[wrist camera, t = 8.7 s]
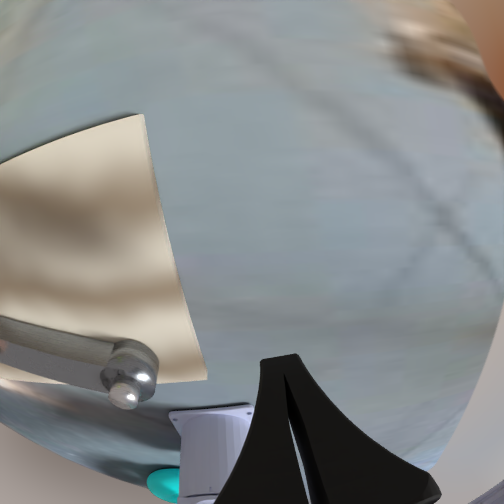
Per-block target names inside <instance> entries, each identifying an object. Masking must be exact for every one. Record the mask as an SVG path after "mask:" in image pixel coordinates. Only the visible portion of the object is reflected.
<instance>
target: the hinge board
mask: <svg viewBox="0 0 504 504" xmlns="http://www.w3.org/2000/svg"><path fill="white" fill-rule="evenodd" d="M0 316H1V317H4V318H8V319H11V320H15V321H18V322H22V323H26V324H29V325H33V326H37V327H41V328H45V329H49V330H54V331H58V332H62V333H67V334H71V335H76V336H81V337H86V338H91V339H96V340H101V341H107V342H113V343H116V342H118V341H122V340H131V341H136V342H139V343H141V344H144V345H145V346H147V347H149V348H150V349H151V350H152V351H153V352H154V353H155V354H156V355H157V357H158V359H159V364H160V365H159V371H158V376H157V382H156V384H158V383H174V382H187V381H198V380H207V368H206V365H205V362H204V359H203V356H202V353H201V350H200V347H199V344H198V340H197V337H196V334H195V331H194V328H193V324H192V321H191V318H190V314H189V311H188V307H187V304H186V300H185V297H184V293H183V290H182V286H181V283H180V279H179V275H178V272H177V268H176V264H175V260H174V256H173V252H172V249H171V245H170V240H169V236H168V232H167V228H166V224H165V220H164V215H163V211H162V207H161V202H160V197H159V193H158V188H157V183H156V179H155V174H154V169H153V164H152V158H151V153H150V148H149V142H148V137H147V131H146V125H145V119H144V114H138V115H134V116H130V117H126V118H123V119H119V120H116V121H112V122H109V123H106V124H102V125H99V126H96V127H93V128H90V129H87V130H84V131H81V132H78V133H75V134H72V135H69V136H66V137H64V138H61V139H58V140H56V141H53V142H51V143H48V144H45V145H43V146H41V147H38V148H36V149H33V150H31V151H29V152H26V153H24V154H22V155H19V156H17V157H15V158H13V159H11V160H9V161H6V162H4V163H2V164H0ZM0 379H8V380H17V381H27V382H39V383H54V384H66V383H62V382H58V381H55V380H51V379H48V378H45V377H41V376H38V375H35V374H32V373H29V372H25V371H22V370H20V369H17V368H14V367H11V366H8V365H5V364H3V363H0Z"/></svg>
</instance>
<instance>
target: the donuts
mask: <svg viewBox="0 0 504 504" xmlns="http://www.w3.org/2000/svg"><path fill="white" fill-rule="evenodd" d="M179 474H180V469H178V468H169V469H161V470H157V471H155V472H153V473H151V474H150V475H149V476H148V478H147V486H148V488H149V490H150V491H151V492H152V493H153V494H154V495H155V496H157V497H158V498H160V499H162V500H165V501H168V502H171V503H176V504H177V497H179Z"/></svg>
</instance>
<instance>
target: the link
mask: <svg viewBox="0 0 504 504" xmlns="http://www.w3.org/2000/svg"><path fill="white" fill-rule="evenodd" d="M0 363H3V364H5V365H8V366H11V367H14V368H17V369H20V370H22V371H25V372H29V373H32V374H35V375H38V376H41V377H45V378H48V379H51V380H55V381H58V382H62V383H66V384H70V385H74V386H78V387H82V388H86V389H90V390H95V391H99V392H104V393H109V396H108V398H109V400H110V402H111V403H112V404H114V405H115V406H117V407H119V408H122V409H127V410H130V409H134V408H136V407H137V403H138V402H142V401H146V400H148V399H150V398H151V397H152V396H153V395H154V393H155V387H156V382H157V376H158V371H159V365H160V364H159V359H158V357H157V355H156V354H155V353H154V352H153V351H152V350H151V349H150V348H149V347H147V346H145V345H144V344H141V343H139V342H136V341H131V340H122V341H118V342H116V343H113V342H107V341H101V340H96V339H91V338H86V337H81V336H76V335H71V334H67V333H62V332H58V331H54V330H49V329H45V328H41V327H37V326H33V325H29V324H26V323H22V322H18V321H15V320H11V319H8V318H4V317H1V316H0Z"/></svg>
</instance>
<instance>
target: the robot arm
mask: <svg viewBox="0 0 504 504" xmlns="http://www.w3.org/2000/svg"><path fill="white" fill-rule="evenodd" d="M169 418H170V420H171V422H172V423H173V425H174V427H175V428H176V430H177V431H178V433H179V435H180V436H181V454H180V474H179V497H177V504H309V503H308V499H307V495H306V492H305V488H304V484H303V480H302V476H301V472H300V468H299V464H298V460H297V456H296V452H295V447H294V443H293V439H292V435H291V430H290V425H289V421H290V424H291V427H292V431H293V434H294V437H295V440H296V443H297V446H298V450H299V453H300V456H301V459H302V462H303V466H304V470H305V475H306V480H307V485H308V489H309V495H310V500H311V504H434V503H435V502H437V501H438V500H439V499H440V497H441V495H442V494H441V491H440V489H439V487H438V485H437V484H436V482H435V481H434V479H433V478H432V476H431V475H430V474H429V473H428V472H426V471H424V470H422V469H420V468H417V467H415V466H414V465H412V464H410V463H408V462H406V461H404V460H403V459H401V458H399V457H398V456H396V455H394V454H393V453H391V452H390V451H388V450H387V449H385V448H384V447H382V446H381V445H380V444H378V443H377V442H375V441H374V440H372V439H371V438H370V437H369V436H367V435H366V434H365V433H364V432H363V431H361V430H360V429H359V428H358V427H357V426H356V425H354V424H353V423H352V422H351V421H350V420H349V419H348V418H347V417H346V416H345V415H344V414H343V413H342V412H341V411H340V410H339V409H338V408H337V407H336V406H335V405H334V404H333V402H332V401H331V400H330V399H329V398H328V397H327V395H326V394H325V393H324V392H323V390H322V389H321V388H320V387H319V386H318V384H317V383H316V382H315V380H314V379H313V377H312V376H311V375H310V373H309V372H308V370H307V369H306V367H305V365H304V364H303V362H302V360H301V358H300V357H299V355H298V354H290V355H285V356H279V357H273V358H267V359H262V360H261V361H260V382H259V390H258V395H257V400H256V405H255V410H254V407H253V406H252V405H240V406H232V407H223V408H212V409H201V410H187V411H171V412H169ZM288 418H289V419H288ZM468 504H504V480H503V481H502V482H500V483H499V484H497V485H496V486H494V487H493V488H491V489H490V490H489V491H487V492H486V493H484V494H483V495H481V496H480V497H478V498H476V499H475V500H473V501H472V502H470V503H468Z"/></svg>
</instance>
